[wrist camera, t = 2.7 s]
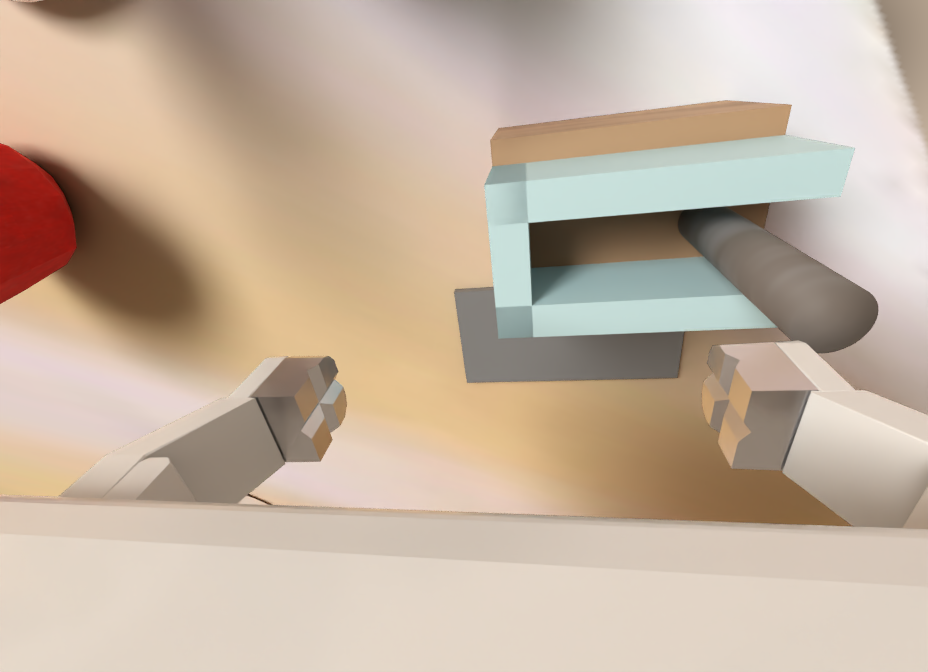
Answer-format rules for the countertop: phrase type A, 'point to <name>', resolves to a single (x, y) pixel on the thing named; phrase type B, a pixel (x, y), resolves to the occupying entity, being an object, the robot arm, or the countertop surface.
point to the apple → (30, 224)
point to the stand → (694, 219)
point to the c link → (632, 192)
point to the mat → (557, 350)
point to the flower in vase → (26, 0)
